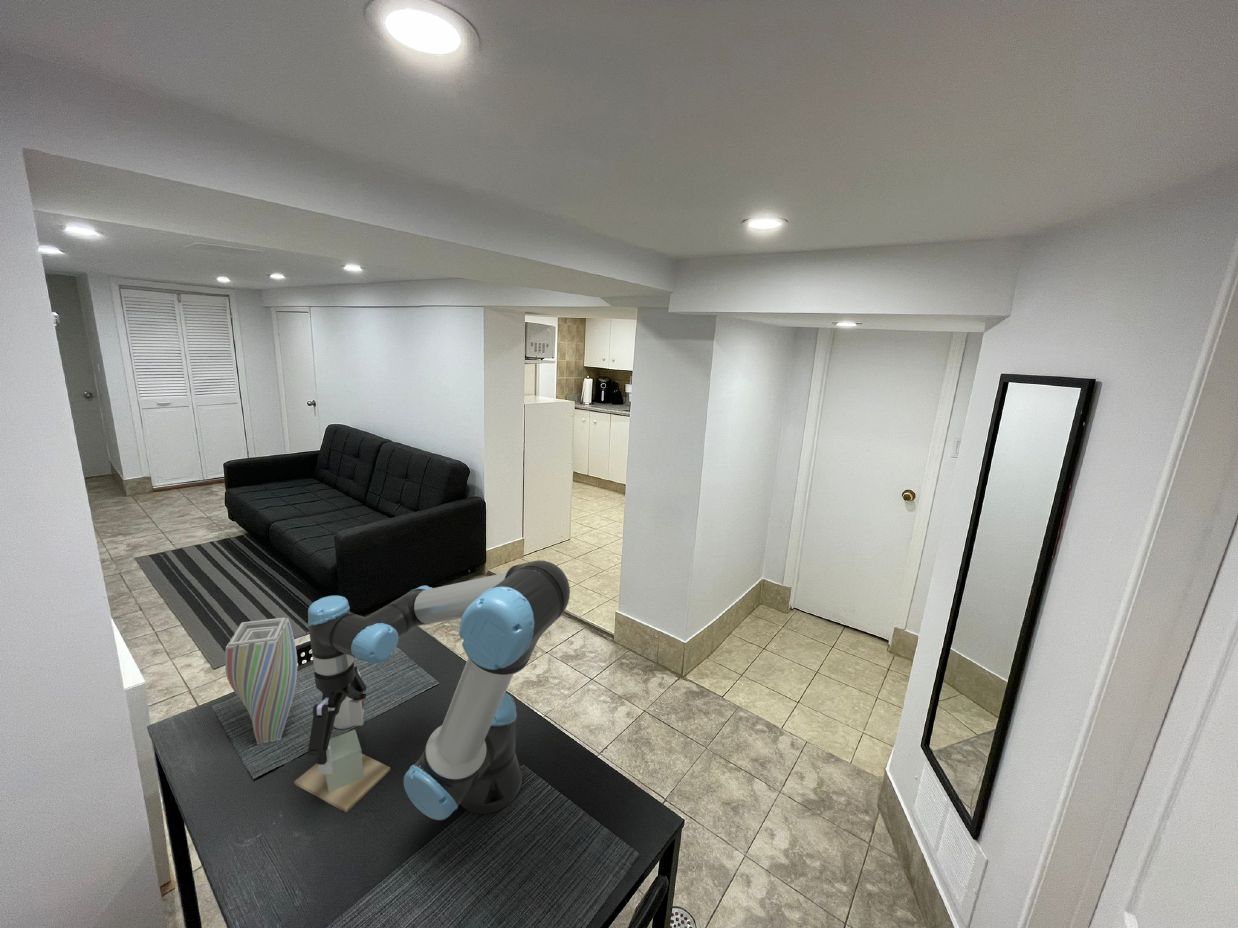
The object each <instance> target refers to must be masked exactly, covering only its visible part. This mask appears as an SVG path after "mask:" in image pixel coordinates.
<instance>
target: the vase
mask: <svg viewBox="0 0 1238 928" xmlns="http://www.w3.org/2000/svg"><path fill="white" fill-rule="evenodd" d="M297 653H298V652H297V646H296V640H295V637H294V632H293V628H292V625H291V622H290V619H289V617H288V618H287V617H278V618H277V617H276V618H270V619H261V620H252V621H243V622H241V623H240V624H239V626H238V628H237V629H236V631H235V632H234V634H233V635H232V637H231V638H230V640H229V642H228V643H227V645H226V646H225V652H224V666H225V668H224V669H225V674H226V679H227V681H228V684H229V686H230V688H232V690H233V691H234V693H235V695H236V696H237V697H238V698H239V700H240V701H241V702H242V703H243V704H244V707H245V708H246V710H247V712H248V714H249V717H250V720H251V723H252V724H251V725H252V727H253V728H252V729H253V733H254V737H255V739H256V745H261V744H267V743H269V742H270V743H272V742H275V741H277V742H278V741H281V740H282V736H283V735H284V731H285V728H286V722H287V719H288V716H289V715H290V710H291V707H292V703H293V699H294V697H295V696H294V694H295V691H296V687H297V686H296V684H297V676H298V655H297Z"/></svg>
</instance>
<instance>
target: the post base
mask: <svg viewBox="0 0 1238 928" xmlns="http://www.w3.org/2000/svg"><path fill="white" fill-rule="evenodd" d="M362 764H363V778H362V779H360V780H357V781H355V782H353V783H351V784H348V785H346V786H344V787H342V788H339V789H337V790H335V791H332V792H330V793H329V792H328V788H327V783H326V779H325V774H319V772H318V764H317V762H316V763H315V764H314V765H312V766H311V767H310V768H308V769H307V770H306V771H305V772H304V773H303V774H301V775H300V776H299V777H298V778H297V779H296V780H294V781H293V782H294V785H295V786H297V787H298V788H300V789H302V790H304V791H306V792H308V793H310V794H312V795H313V796H314V797H317V798H319V799H320V800H322V801H325V802H326V803H327V804H329V805H331V806H333V807H335V808H336V809H338V810H340V811H342V812H343V813H346V814H347V813H348V812H349V811H350V810H351V809H352V808H353V807H354V806H355V805H356V804H357V803H358V802H359V801H360V800H361V799H362V798H363V797H364V796H366V794H368V793H369V791H370V790H372V789H373V788H374V787H375V786H376V785H377V784H378V783H379V782H380V781H381V780H382V779H383V778H384V777H385V776H386V775H387V774H388V773H389V772H390V771H391V767H390V766H388V765H386V764H384V763H382V762H380V761H378V760H376V759H373V758H372V757H370V756H367V755H366V754H363V753H362Z"/></svg>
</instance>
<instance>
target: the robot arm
mask: <svg viewBox="0 0 1238 928" xmlns="http://www.w3.org/2000/svg"><path fill="white" fill-rule="evenodd" d="M569 583H570V582H569V580H568V577H567V576H566V574H565V572H564V571H563V570H562V569H561V568H560V567H559V566H558V565H556V564H555V563H552V562H551V561H547V560H538V559H537V560H531V561H528V562H524V563H519V564H515V565H512V566H510V567H509V568H508V569H507V570H506V572H503V573H497V574H494V575H493V574H492V575H490V576H489V575H488V576H484V577H480V578H475V579H474V578H473V579H470V580H465V581H461V582H457V583H452V584H447V585H442V586H438V587H432V586H431V587H430V586H429V585H421V586H419V587H417V588H414V589H411V590H410V591H408V592H406V594H403V595H402V596H401V597H399V598H397V599H395V600H394V601H391V602H390V603H389V604H386V605H385V606H383V607H382V608H381V607H380V608H379V609H378V610H376V611H374V612H372V613H371V614H369V615H367V616H362V615H358V614H356V613H353V612H351V611H350V608H351V607H350V605H349V601H348V599H347V598H346V597H345V596H342V595H328V596H324V597H321V598H319V599H318V600H317V599H316V601H313V602H312V603H311V604H310V605H309V607H308V609H307V616H308V617H307V620H308V622H307V626H308V631H309V640H310V641H309V642H310V647H311V652H312V653H311V656H312V662H313V670H314V674H313V675H314V683H315V687H316V689H317V690H319V691H320V693H321V694H322V696H321V697H322V698H321V702H320V703H319V704H315V703H314V705H313V707H312V717H313V718H312V721H311V722H312V723H311V729H310V730H311V731H310V734H309V735H310V736H309V742H308V749H307V756H308V757H309V756H310V757H316V763H317V764H318V772H319V774H332V772H333V762H332V753H331V746H328V745H329V741H330V739H331V738H332V737H331V735H332V732H333V728H334V726H333V724H334V720H335V716H336V715H337V714H338V713H339V710H340V706H341V703H342V702H343V701H344V700H345V698H346V697H348V698H350V699H353V700H350V701H349V713H350V723H351V725H354V726H361V727H362V726H363V725H364V716H363V710H362V700H361V699H363V700H366V697H367V693H364V692H366V691H367V686H366V684H365V682H364V681H363V679H362V676H361V677H360V675H361V674H360V675H359V674H358V670H359V669H358V665H355V662H354V660H355V659H357V660H359V661H362V662H368V663H371V664H380V663H383V662H385V661H386V660H388V659H389V658H390V657H391V655H392V654H393V652H395V651H396V648H397V647H398V644H399V639H400V638H402V637H403V636H405V634H407V633H409V632H410V631H412V630H413V629H416V628H417V627H419V626H425V625H430V624H435V623H441V622H443V623H444V622H448V621H453V620H459V619H461V620H460V624H459V637H460V638H461V639H462V640H463V641H462V643H461V645H462V648H463V651H465V654H466V657H467V660H466V663H465V665H464V667H463V670H462V673H461V675H460V678H459V681H458V683H457V686H456V689H455V690H454V694H453V696H452V698H451V702H450V704H449V707H448V710H447V712H446V715H445V717H444V720H443V722H442V725H440V726H438V727H437V728H436V729H434V731H433V732H432V733H431V734H430V735H429V738H427V739H428V740H427V742H426V745H425V747H424V750H423V752H422V755H421V756H420V757H419V759H418V760H417V761H416V762H415V763H414V764H412V765H410V767H409V769H408V770H407V772H406V773H405V775H404V777H403V787H404V792H405V793H406V794H407V797H408V799H409V800H410V802H411V803H412V804H413V805H414V807H416V809H417V810H418V811H420V813H422V814H423V815H425V816H427V818H429V819H432V820H436V821H443V820H446V819H447V818H448V817H450V816H451V815H452V814H453V812H455V811H456V810H458V808H459V806H461V807H462V808H463V809H465V810H466V811H468V812H470V813H473V814H477V815H486V814H487V815H488V814H492V813H495V812H498V811H501V810H502V809H504V808H505V807H507V806H509V805H510V804H511V803H512V802H513V801H514V800H515V799H516V798H517V796H518V795H519V792H520V791H521V788H522V783H523V770H522V766H521V763H520V761H519V760H518V757H517V753H516V734H517V733H516V732H517V730H516V729H517V717H518V714H517V706H516V703H515V699H514V698H513V697H512V696H511V695H510V694H508V693H507V689H508V688H509V685H510V683H511V681H512V678H513V676H514V675H515V674H517V673H519V672H521V671H522V670H524V668H525V667H526V666H527V664H528V663H529V661H530V658H531V656H532V654H533V652H534V650H535V647H536V645H537V643H538V641H539V640H540V638H541V637H542V635H543V634H544V633H545V632H546V631H547V630H548V629H549V628H551V626H552V625H553V624H554V623H555V622H556V621H558V619H559V618H560V617H561V616H562V615H563V614H564V612H565V611H566V609H567V607H568V604H569V601H570V597H571V590H570V589H571V588H570V584H569ZM354 658H355V659H354ZM354 665H355V666H354ZM357 669H358V670H357ZM349 684H350V685H349ZM330 708H335V710H334V711H330Z"/></svg>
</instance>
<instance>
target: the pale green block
mask: <svg viewBox="0 0 1238 928" xmlns="http://www.w3.org/2000/svg"><path fill="white" fill-rule="evenodd" d="M328 746H331V753H332V762H333V772H332V774H325V779H326V783H327V788H328V792H329V793H330V792H332V791H335V790H337V789H339V788H342V787H344V786H346V785H348V784H351V783H353V782H355V781H357V780H360V779H362V778H363V764H362V754H363V753H362V748H361V744H360V741H359V737H358V734H357V731H356V729H352V730H349V731H347V732H345V733H342V734H340V735H337V736H335V737H330V741H329V745H328Z"/></svg>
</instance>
